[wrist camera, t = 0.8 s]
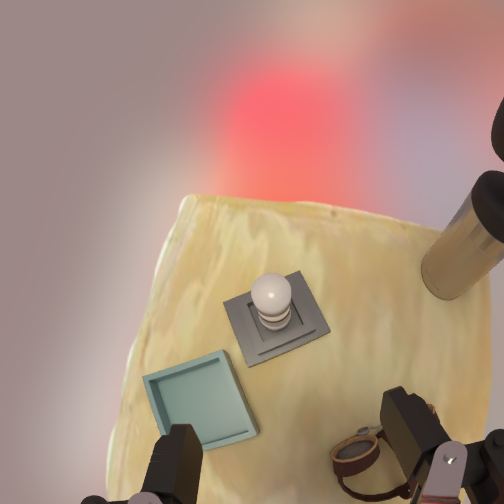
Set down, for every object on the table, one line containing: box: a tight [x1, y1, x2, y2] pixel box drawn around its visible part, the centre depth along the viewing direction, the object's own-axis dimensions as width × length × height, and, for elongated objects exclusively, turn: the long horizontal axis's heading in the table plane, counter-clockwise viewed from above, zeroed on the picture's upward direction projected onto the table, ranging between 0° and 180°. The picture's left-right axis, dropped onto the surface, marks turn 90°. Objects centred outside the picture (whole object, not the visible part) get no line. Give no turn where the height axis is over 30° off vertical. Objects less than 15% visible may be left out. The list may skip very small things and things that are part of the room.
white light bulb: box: [251, 273, 291, 332], centre depth 34 cm, size 4×4×10 cm
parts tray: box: [142, 349, 260, 451], centre depth 32 cm, size 12×12×4 cm
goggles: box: [331, 404, 440, 502], centre depth 23 cm, size 15×13×10 cm
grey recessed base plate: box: [223, 270, 331, 368], centre depth 38 cm, size 12×10×2 cm
